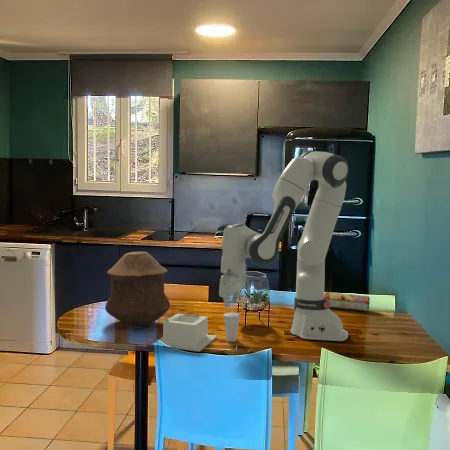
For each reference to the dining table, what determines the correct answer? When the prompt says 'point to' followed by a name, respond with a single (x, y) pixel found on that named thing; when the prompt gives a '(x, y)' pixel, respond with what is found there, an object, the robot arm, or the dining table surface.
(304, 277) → the robot arm
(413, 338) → the dining table surface
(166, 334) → the socket dock
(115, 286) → the pottery vessel
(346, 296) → the snack package
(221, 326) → the dining table surface
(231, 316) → the smoothie
